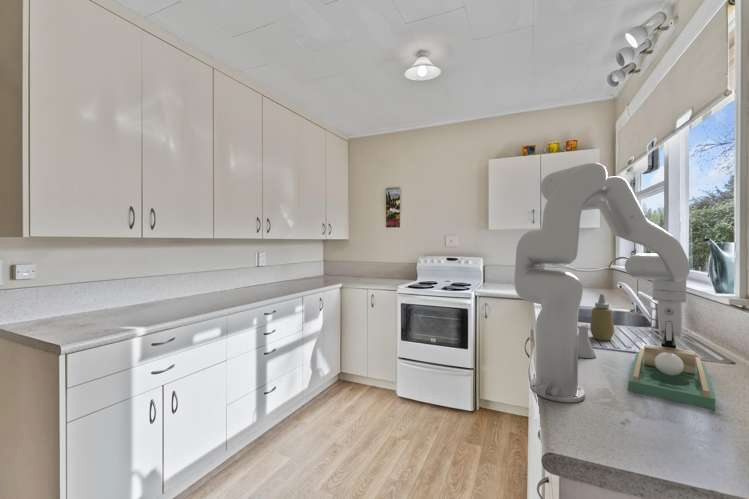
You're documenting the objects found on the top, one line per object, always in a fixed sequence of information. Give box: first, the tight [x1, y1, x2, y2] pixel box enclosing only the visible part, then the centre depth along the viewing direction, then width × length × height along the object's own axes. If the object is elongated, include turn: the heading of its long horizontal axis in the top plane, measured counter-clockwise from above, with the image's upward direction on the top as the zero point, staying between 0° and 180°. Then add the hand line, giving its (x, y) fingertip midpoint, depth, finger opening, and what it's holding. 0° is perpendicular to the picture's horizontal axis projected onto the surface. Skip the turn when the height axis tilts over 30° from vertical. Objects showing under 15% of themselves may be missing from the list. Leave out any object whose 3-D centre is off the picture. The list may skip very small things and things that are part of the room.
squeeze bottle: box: [589, 293, 615, 342], centre depth 133 cm, size 8×8×18 cm
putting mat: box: [627, 347, 716, 411], centre depth 93 cm, size 30×16×4 cm, turn 139°
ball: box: [655, 352, 684, 376], centre depth 91 cm, size 6×6×6 cm
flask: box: [578, 325, 597, 359], centre depth 114 cm, size 7×7×10 cm
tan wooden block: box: [643, 343, 696, 374], centre depth 95 cm, size 4×11×5 cm, turn 49°
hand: (668, 357), depth 99 cm, fingers closed
